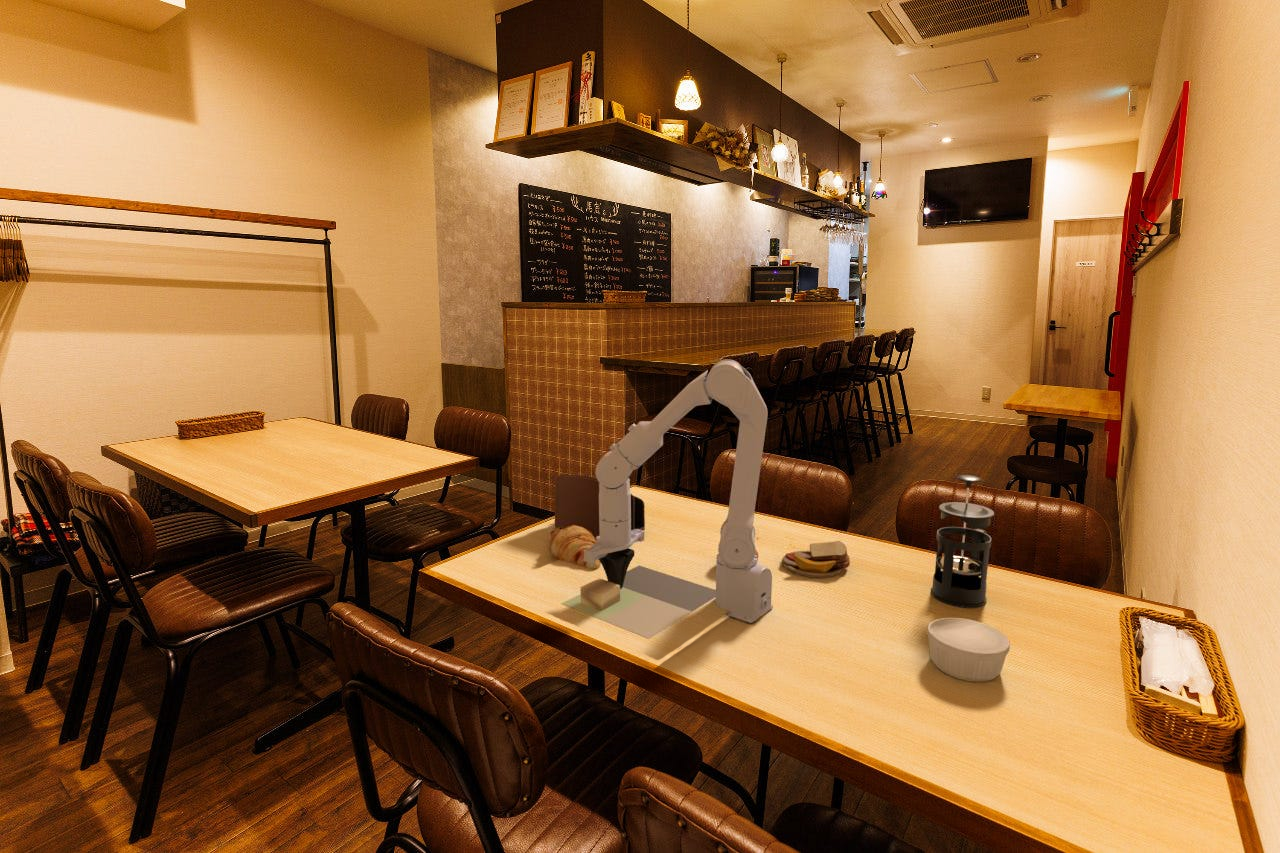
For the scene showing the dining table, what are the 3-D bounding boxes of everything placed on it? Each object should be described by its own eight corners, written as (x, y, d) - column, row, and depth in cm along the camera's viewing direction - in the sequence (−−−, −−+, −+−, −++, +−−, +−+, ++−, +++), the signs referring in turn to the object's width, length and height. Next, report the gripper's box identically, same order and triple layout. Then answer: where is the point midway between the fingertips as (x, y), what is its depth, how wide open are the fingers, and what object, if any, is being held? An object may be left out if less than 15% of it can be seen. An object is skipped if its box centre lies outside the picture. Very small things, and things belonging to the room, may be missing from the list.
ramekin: (936, 639, 109) (939, 609, 108) (1013, 663, 102) (1017, 631, 101) (914, 668, 101) (917, 636, 100) (996, 696, 94) (1000, 662, 93)
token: (620, 600, 121) (620, 585, 120) (601, 610, 117) (601, 594, 117) (599, 593, 124) (599, 578, 123) (580, 602, 120) (580, 587, 120)
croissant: (609, 587, 138) (625, 551, 138) (570, 575, 132) (587, 538, 132) (564, 552, 155) (578, 520, 155) (527, 540, 149) (542, 507, 150)
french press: (966, 614, 118) (979, 487, 113) (918, 594, 125) (927, 475, 121) (1001, 596, 124) (1014, 476, 120) (953, 579, 132) (963, 466, 127)
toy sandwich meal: (784, 553, 146) (785, 532, 145) (849, 560, 142) (850, 538, 142) (778, 575, 135) (779, 553, 134) (849, 584, 131) (850, 561, 130)
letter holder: (622, 543, 152) (622, 483, 149) (554, 528, 162) (552, 471, 160) (645, 531, 160) (645, 473, 158) (578, 516, 171) (577, 463, 168)
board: (722, 597, 125) (722, 592, 124) (649, 644, 108) (649, 638, 108) (639, 570, 137) (639, 565, 137) (561, 608, 120) (561, 603, 120)
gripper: (624, 503, 129) (624, 569, 132) (570, 523, 118) (572, 595, 121) (653, 510, 125) (653, 579, 127) (600, 531, 114) (601, 606, 116)
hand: (615, 587), depth 124 cm, fingers closed
